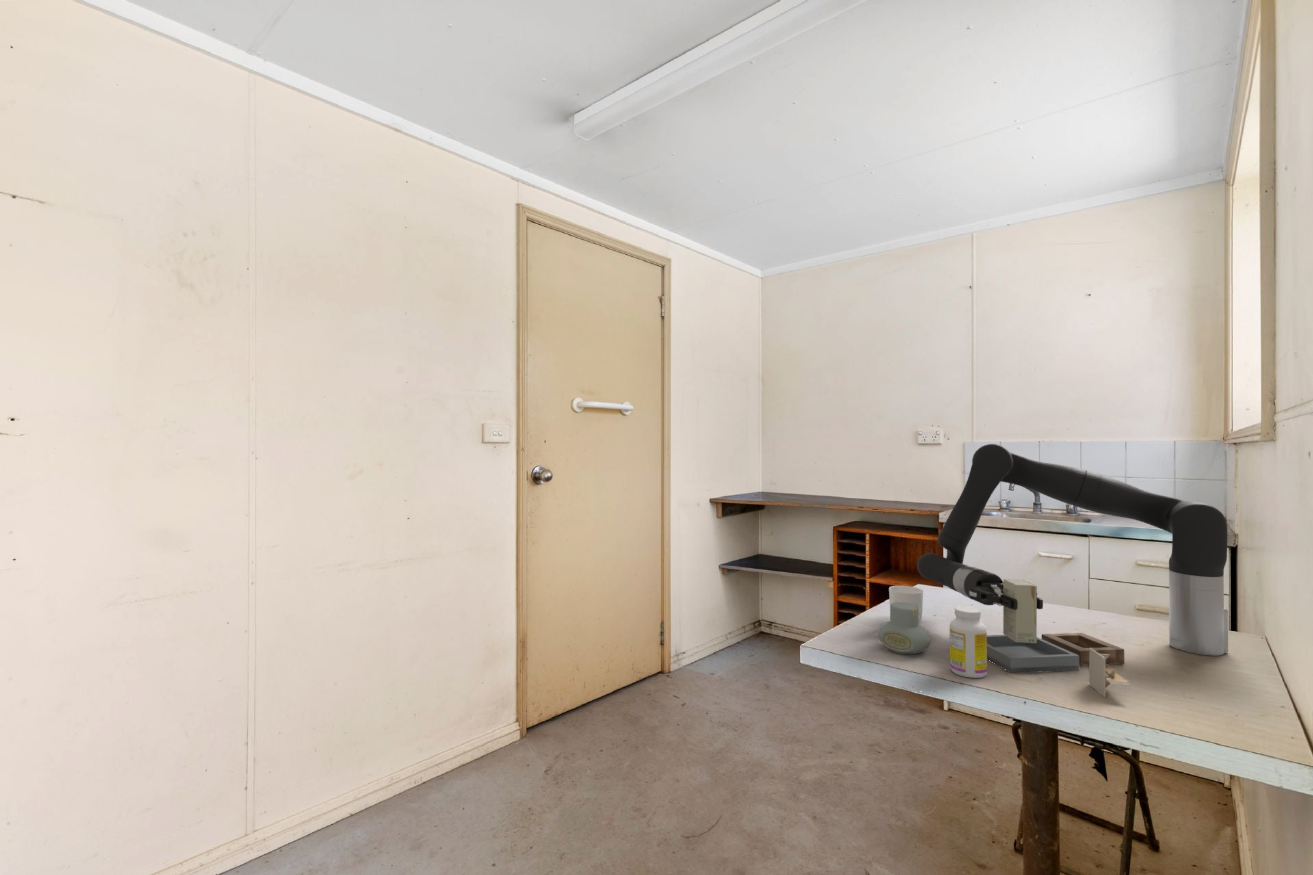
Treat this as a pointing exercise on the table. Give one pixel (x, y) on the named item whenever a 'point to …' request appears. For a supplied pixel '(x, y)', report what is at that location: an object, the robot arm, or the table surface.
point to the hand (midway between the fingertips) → (1028, 604)
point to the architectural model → (1101, 672)
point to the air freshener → (904, 630)
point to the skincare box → (1021, 611)
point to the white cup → (907, 597)
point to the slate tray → (1029, 655)
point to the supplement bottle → (968, 643)
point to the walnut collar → (1086, 646)
